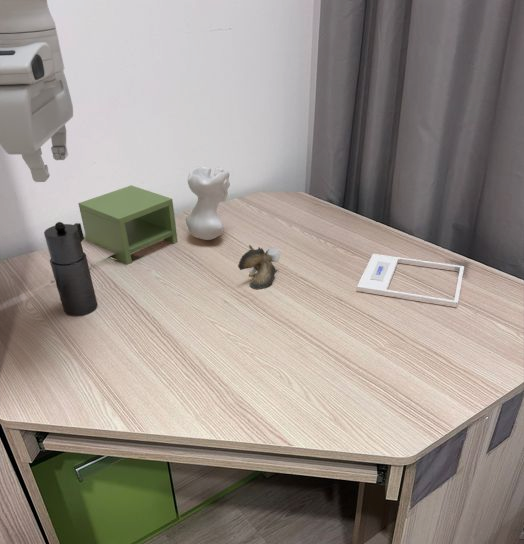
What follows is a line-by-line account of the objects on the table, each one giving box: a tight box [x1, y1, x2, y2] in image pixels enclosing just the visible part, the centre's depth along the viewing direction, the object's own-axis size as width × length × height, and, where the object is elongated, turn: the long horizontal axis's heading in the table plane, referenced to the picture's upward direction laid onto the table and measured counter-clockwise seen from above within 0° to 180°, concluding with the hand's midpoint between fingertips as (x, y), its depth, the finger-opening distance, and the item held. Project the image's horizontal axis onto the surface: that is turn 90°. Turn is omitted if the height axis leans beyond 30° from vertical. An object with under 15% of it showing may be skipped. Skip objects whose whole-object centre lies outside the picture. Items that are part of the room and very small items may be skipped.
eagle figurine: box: [237, 244, 281, 290], centre depth 104 cm, size 8×7×9 cm
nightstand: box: [78, 185, 179, 266], centre depth 117 cm, size 14×14×10 cm
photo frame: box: [356, 253, 465, 308], centre depth 103 cm, size 15×1×18 cm
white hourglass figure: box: [185, 166, 231, 241], centre depth 118 cm, size 10×11×15 cm
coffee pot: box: [43, 221, 98, 317], centre depth 95 cm, size 10×6×16 cm, turn 174°
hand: (52, 169), depth 75 cm, fingers open, 8 cm apart
